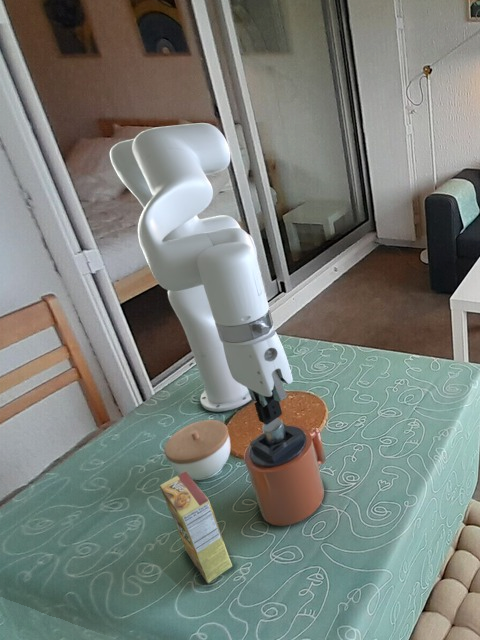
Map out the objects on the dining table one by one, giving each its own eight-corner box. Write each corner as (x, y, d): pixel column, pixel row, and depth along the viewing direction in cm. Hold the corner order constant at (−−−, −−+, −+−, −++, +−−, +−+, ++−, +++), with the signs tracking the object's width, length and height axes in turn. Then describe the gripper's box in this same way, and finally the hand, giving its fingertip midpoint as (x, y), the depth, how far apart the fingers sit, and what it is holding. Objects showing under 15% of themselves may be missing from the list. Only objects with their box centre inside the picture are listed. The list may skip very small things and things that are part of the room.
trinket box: (169, 495, 93) (153, 458, 89) (184, 454, 103) (170, 418, 98) (231, 482, 96) (218, 446, 92) (241, 443, 105) (230, 408, 101)
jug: (248, 508, 91) (227, 446, 84) (308, 459, 101) (294, 400, 94) (287, 536, 85) (268, 473, 79) (347, 481, 96) (335, 421, 89)
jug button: (262, 440, 85) (258, 427, 84) (278, 429, 87) (274, 415, 86) (274, 447, 84) (270, 434, 82) (290, 435, 86) (286, 422, 85)
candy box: (185, 551, 83) (156, 486, 76) (211, 534, 86) (186, 469, 79) (208, 585, 78) (179, 518, 71) (235, 565, 81) (210, 499, 74)
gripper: (298, 325, 75) (319, 420, 83) (238, 301, 82) (263, 391, 90) (253, 350, 69) (280, 449, 77) (192, 322, 76) (223, 415, 84)
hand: (271, 418), depth 83 cm, fingers closed
